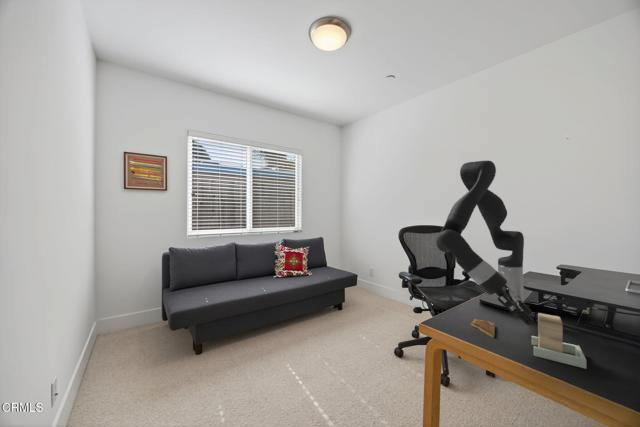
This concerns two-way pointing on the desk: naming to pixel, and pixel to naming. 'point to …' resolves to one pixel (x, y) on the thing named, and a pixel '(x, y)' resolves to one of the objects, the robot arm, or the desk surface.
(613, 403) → the desk surface
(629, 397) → the desk surface
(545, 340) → the oak block
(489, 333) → the shard
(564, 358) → the tray
